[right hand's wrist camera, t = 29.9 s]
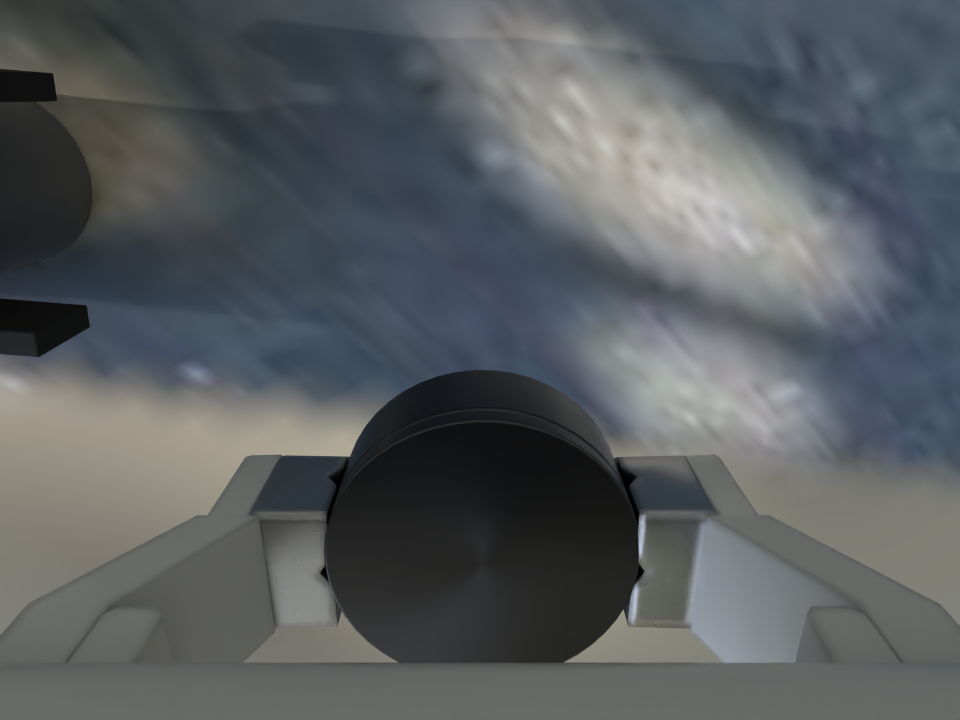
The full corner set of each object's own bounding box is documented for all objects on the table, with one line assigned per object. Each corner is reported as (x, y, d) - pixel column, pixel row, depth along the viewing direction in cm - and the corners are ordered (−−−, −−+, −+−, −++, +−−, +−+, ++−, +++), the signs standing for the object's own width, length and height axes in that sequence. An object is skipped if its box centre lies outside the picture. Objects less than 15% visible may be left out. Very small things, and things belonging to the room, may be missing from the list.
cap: (315, 394, 9) (284, 449, 8) (601, 345, 9) (625, 395, 8) (380, 617, 11) (365, 701, 9) (629, 581, 11) (653, 660, 9)
